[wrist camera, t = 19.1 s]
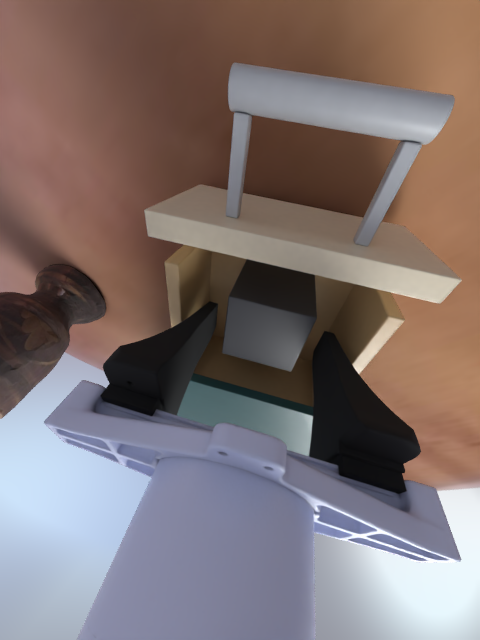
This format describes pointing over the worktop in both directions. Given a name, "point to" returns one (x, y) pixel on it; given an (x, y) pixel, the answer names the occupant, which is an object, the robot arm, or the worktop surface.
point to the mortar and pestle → (41, 328)
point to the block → (270, 314)
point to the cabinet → (248, 411)
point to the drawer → (305, 227)
